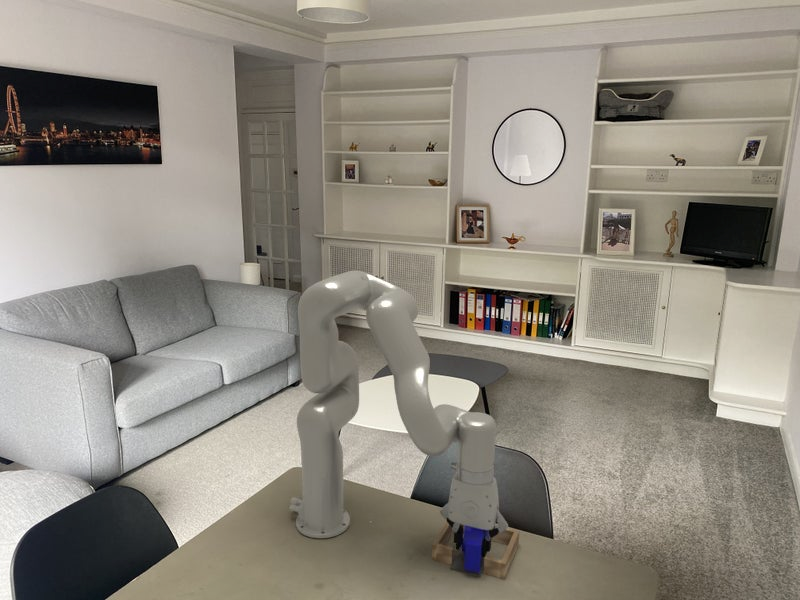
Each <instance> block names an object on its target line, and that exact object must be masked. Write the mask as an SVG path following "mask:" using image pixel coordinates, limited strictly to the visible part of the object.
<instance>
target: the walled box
mask: <svg viewBox="0 0 800 600" xmlns="http://www.w3.org/2000/svg"><path fill="white" fill-rule="evenodd" d="M462 526H463V528H464V529H465V525H462ZM495 526H496V524H495ZM464 529H463V534H464ZM453 534H454V532H453V531H452V527H451V526H450V525H449V524H448V522H447V521H446V522H445V524H444V525H443V527H442V528H441V530H440V532H439V534H438V535H437V536H436V538H435V539H434V540H433V543H432V544H431V560H432V561H433V560H434V561H437V562H441V563H443V564H448V565H450V567H449V570H452V571H456V572H459V573H462V574H467V575H471V576H474V577H477V578H481V577H482V576H483V574H484V575H487V576H490V577H495V578H498V579H501V580H505V579H506V576H507V575H508V572H509V570H510V567H511V564H512V562H513V560H514V557H515V554H516V552H517V551H518V548H519V545H520V544H519V540H520V530H518V529H513V528H510V527H507V529H506V530H505V531H503V532H501V533H498V534H497V535H496V536H494V537H493V538H491V542H495V543H499V544H503V545H507V548H506V550H505V552H504V555H503V557H502V559H498V558H495V557H490V556H487V555H486V556H485V557H482V560H481V565H480V570H479V572H475V571H469V570H465V552H463V551H462V548H460V549H459V551H458V553H457V554H456V556H455V558H454V550H455V549H454V546H450V545H446V544H447V543H448V541H449V539H450V537H451V536H452V535H453Z"/></svg>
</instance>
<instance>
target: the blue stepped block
mask: <svg viewBox="0 0 800 600" xmlns="http://www.w3.org/2000/svg"><path fill="white" fill-rule="evenodd" d="M483 538H484V533H483V530H482V529H478V528H474V527H469V526H465V529H464V533H463V542H462V545H461V550H462V551H463V552H465V570H469V571H475V572H479V570H480V565H481V560H482V540H483Z"/></svg>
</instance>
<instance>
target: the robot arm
mask: <svg viewBox="0 0 800 600" xmlns="http://www.w3.org/2000/svg"><path fill="white" fill-rule="evenodd" d="M357 309H360V310H362V311H364V312H365V320H366V322H367V325H368V327H369V329H370V332H371V334H372V335H373V338H374V340H375V341H376V344H377V346H378V347H379V350H380V352H381V354H382V356H383V358H384V360H385V361H386V364H387V366H388V368H389V369H390V371H391V374H392V377H393V384H394V385H393V386H394V393H395V399H396V405H397V409H398V413H399V416H400V419H401V422H402V424H403V425H404V427H405V430H406V432H407V433H408V435H409V437H410V439H411V441H412V442H413V444H414V445H415V447H416V448H417V449H418V450H419V451H420V452H421V453H422V454H423V455H426V456H429V457H437V456H441V455H443V454H445V453H446V452H447V450H448V449H449V448H450V447H451V445H453V443H454V442H457V461H455V462H454V461H451V463H450V469H453V470H454V471H455V474H454V475H453V476H452V479H451V485H450V489H449V494H448V495H449V498H448V502H447V503H446V504H445V505H444V506H442V508H441V509H440V511H439V514H440V516H441V517H442V518H443V519H444V520H446V522H448V524H449V525H450V526H451V527H452V531H453V544H455V550H456V551H458V550H459V551H460V549H461V548H462V542H463V536H464V533H463V529H464V528H463V526H462V525H465V526H469V527H474V528H478V529H482V530H483V533H484V538H483V540H482V557H485V556H487V554H488V553H490V552H491V548H492V541H491V538H493V537H494V536H496V535H497V534H498V533H501V532H503V531H505V530H506V529H507V528H509V524H508V522H507V520H506V519H505V517H504V516H503V515H502V514H501V512H500V505H499V504H500V502H499V488H498V483H497V479H496V477H494V475H495V474H494V472H495V451H496V449H495V448H496V434H497V433H496V431H497V424H496V423H497V422H496V420H495V418H493V417H492V415H490V414H487V413H485V412H479V411H474V412H471V411H469V410H466V409H463V408H460V407H458V406H454V405H452V404H448V403H447V404H445V403H444V404H438V405H436V406H435V407H434V406H433V404H432V402H431V397H430V393H429V376H430V374H429V373H430V366H431V361H430V360H431V359H430V356H429V353H428V351H427V349H426V347H425V345H424V344H423V342H422V340H421V338H420V335H419V333H418V332H417V330H416V327H415V326H414V325H415V324H414V321H415V320H416V319H417V317H418V315H419V306H418V303H417V300H416V299H415V297H414V296H413V295H412V294H411V293H410V292H408V291H407V290H406V289H403V288H401V287H399V286H397V285H395V284H393V283H390V282H389V281H386V280H384V279H381V278H379V277H377V276H375V275H373V274H370V273H368V272H365V271H361V270H349V271H346V272H343V273H339V274H335V275H333V276H330V277H327V278H325V279H323V280H320V281H318V282H316V283H314V284H312V285H311V286H309V287H308V288H307V289H305V291H304V292H303V293H302V294H301V295H300V298H299V301H298V305H297V317H298V318H297V319H298V327H299V328H298V329H299V355H300V357H299V359H300V376H301V381H302V384H303V386H304V388H305V389H306V390H307V391H309V393H313V394H315V395H314V396H313V397H311V398H310V399H309V400H307V401H306V402H305V403H303V405H302V407H300V409H299V411H298V413H297V417H296V429H297V433H298V438H299V441H300V442H299V443H300V453H301V454H300V455H301V491H302V492H301V495H302V498H299V497H294V496H292V497H291V499H290V502H289V503H290V504H289V505H290V506H289V511H291V512H296V513H297V514H298V515H297V517H296V519H295V520H296V521H295V526H296V529H297V530H298V532H299V533H301V534H302V535H303V536H306V537H309V538H314V539H330V538H333V537H336V536H339V535H341V534H342V533H344V532H345V531H346V530H347V529H348V528H349V526H350V523H351V516H350V514H349V512H348V511H347V510H346V509H344V452H343V450H344V449H343V445H342V443H341V440H340V436H339V434H340V431H341V430H342V429H343V428H344V427H345V426H346V425H347V424H348V423H349V422H351V421H352V420H353V419H354V417H356V415H357V413H358V410H359V406H360V374H359V373H360V369H359V359H358V356H357V353H356V351H355V350H354V348H353V347H352V346H351V345H350V344H349V343H348V342H345V341H342V340H339V329H338V326H337V322H336V321H335V319H336V318H337V317H340V316H343V315H345V314H348V313H351V312H353V311H355V310H357ZM496 522H497V524H498V525H496ZM495 525H496V526H495Z"/></svg>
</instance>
